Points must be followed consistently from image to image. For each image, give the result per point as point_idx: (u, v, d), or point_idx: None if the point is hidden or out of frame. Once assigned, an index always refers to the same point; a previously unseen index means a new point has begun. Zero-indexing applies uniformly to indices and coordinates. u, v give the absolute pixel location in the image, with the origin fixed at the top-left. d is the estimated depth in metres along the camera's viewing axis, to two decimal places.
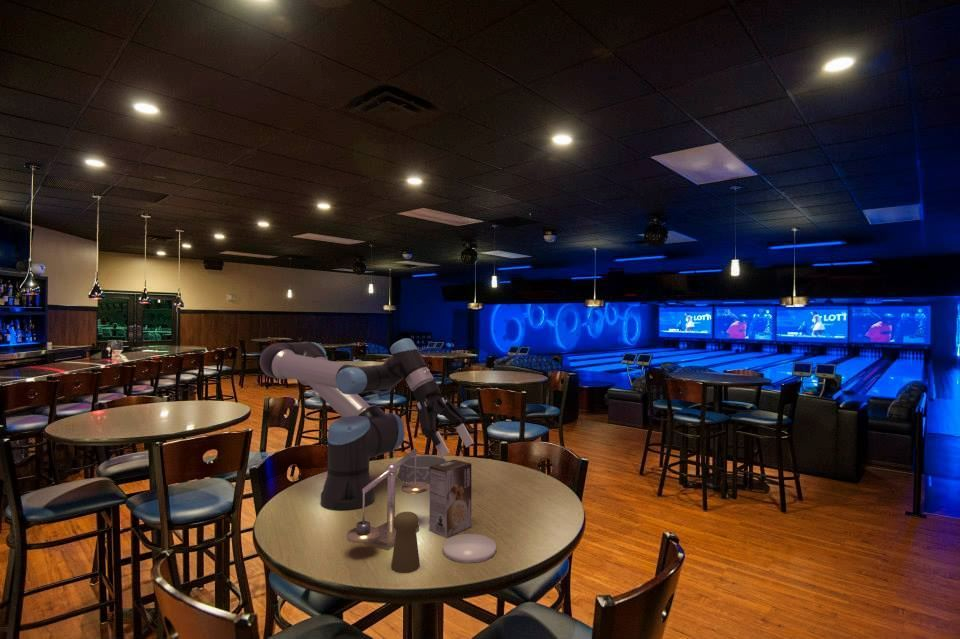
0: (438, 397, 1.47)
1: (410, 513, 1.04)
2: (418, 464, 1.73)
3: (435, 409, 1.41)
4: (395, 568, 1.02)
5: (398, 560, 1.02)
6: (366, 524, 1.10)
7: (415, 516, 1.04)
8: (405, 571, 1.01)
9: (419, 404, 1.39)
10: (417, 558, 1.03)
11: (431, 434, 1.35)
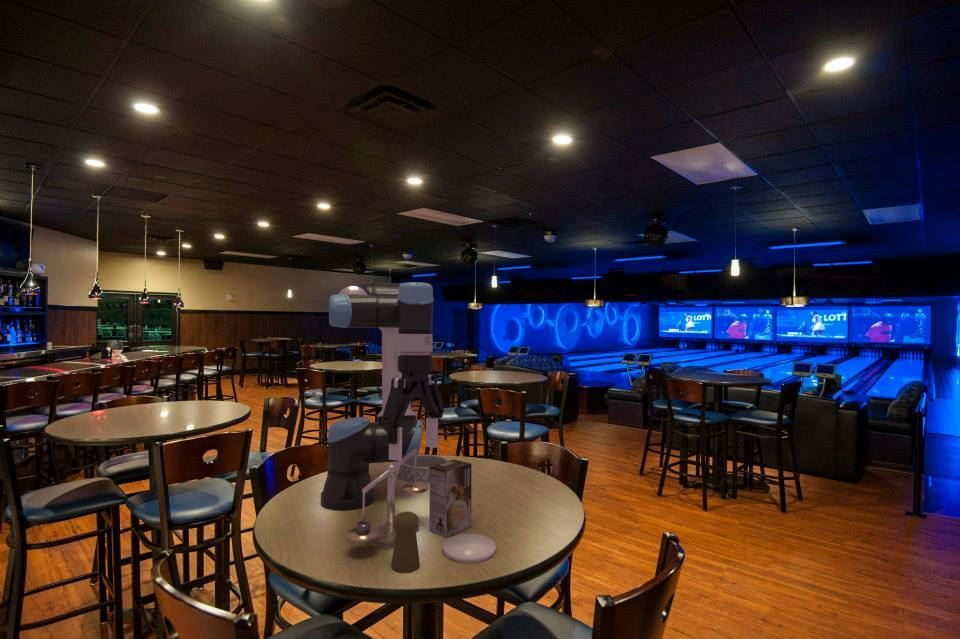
0: (425, 376, 1.09)
1: (410, 513, 1.04)
2: (418, 464, 1.74)
3: (413, 395, 1.03)
4: (395, 568, 1.02)
5: (398, 560, 1.02)
6: (366, 524, 1.10)
7: (415, 516, 1.04)
8: (405, 571, 1.01)
9: (397, 382, 1.01)
10: (417, 558, 1.03)
11: (391, 428, 0.99)
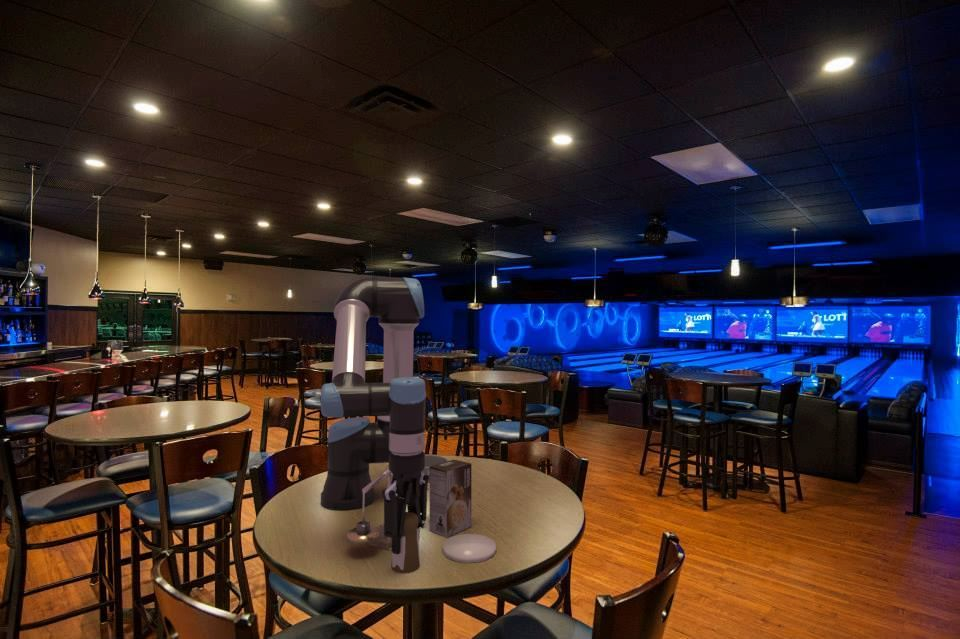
0: None
1: (410, 513, 1.04)
2: None
3: (407, 499, 1.02)
4: (395, 569, 1.02)
5: None
6: (366, 524, 1.10)
7: (415, 516, 1.04)
8: (405, 571, 1.01)
9: (388, 495, 0.98)
10: (417, 558, 1.03)
11: (394, 539, 1.00)
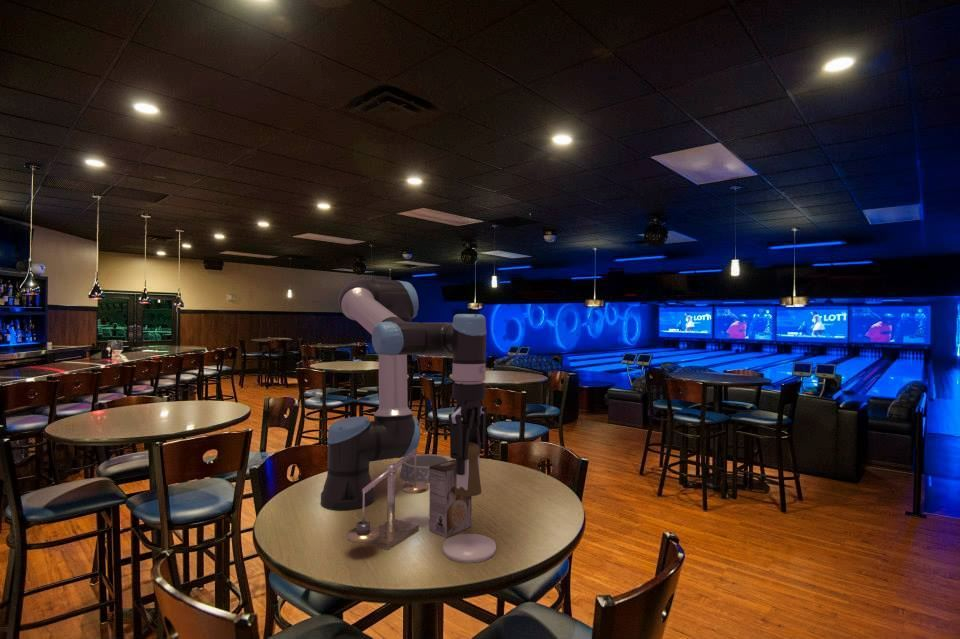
0: (479, 401, 1.14)
1: (472, 443, 1.12)
2: (420, 463, 1.74)
3: (471, 424, 1.09)
4: (459, 492, 1.09)
5: None
6: (366, 524, 1.10)
7: (477, 445, 1.11)
8: (469, 494, 1.09)
9: (454, 419, 1.06)
10: (479, 484, 1.11)
11: (459, 461, 1.08)
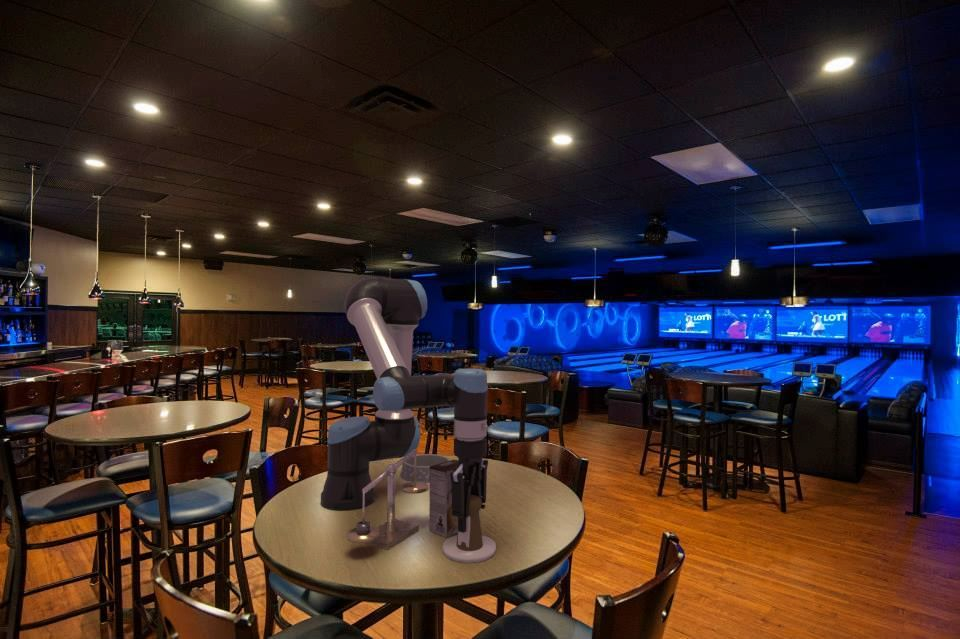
0: None
1: (473, 496, 1.12)
2: (420, 463, 1.75)
3: (472, 481, 1.09)
4: (460, 547, 1.09)
5: None
6: (366, 524, 1.10)
7: (478, 498, 1.11)
8: (470, 549, 1.09)
9: (456, 477, 1.06)
10: (481, 537, 1.11)
11: (461, 518, 1.08)
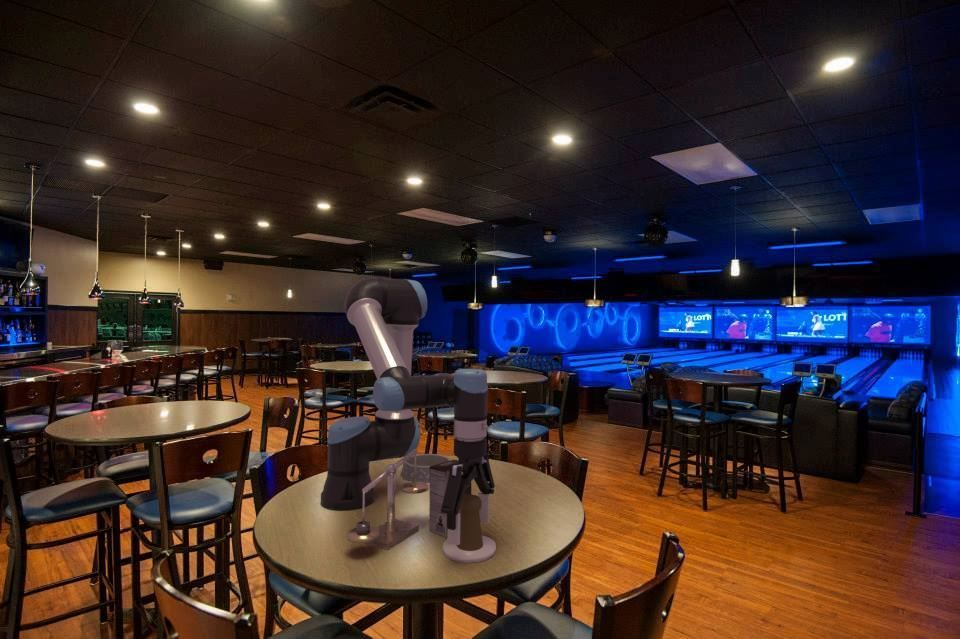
0: (479, 457, 1.14)
1: (474, 496, 1.12)
2: (421, 463, 1.75)
3: (469, 480, 1.08)
4: (460, 546, 1.09)
5: (463, 539, 1.09)
6: (366, 524, 1.10)
7: (479, 498, 1.11)
8: (470, 549, 1.09)
9: (455, 469, 1.06)
10: (481, 537, 1.11)
11: (450, 515, 1.04)
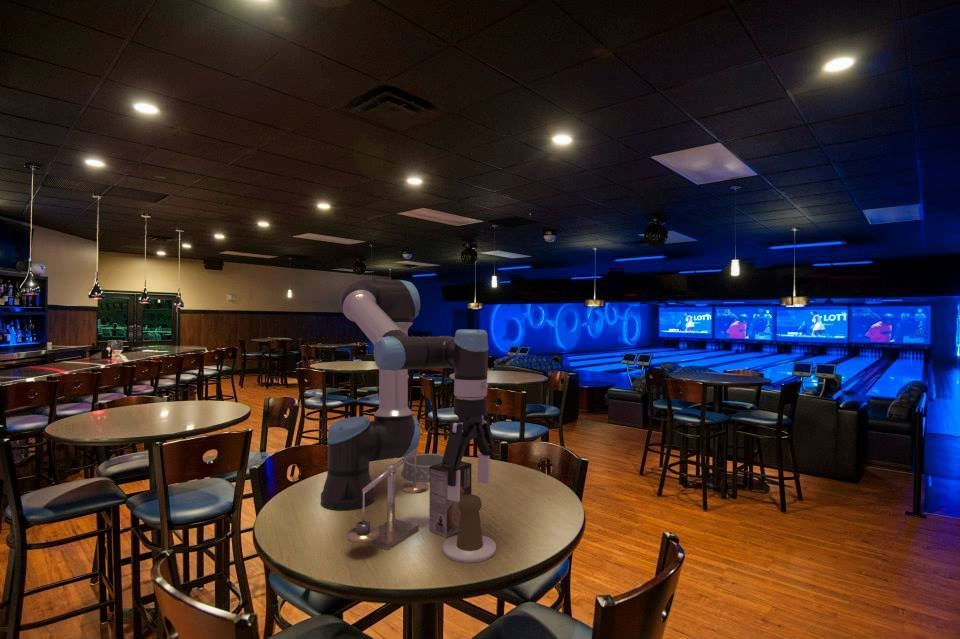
0: (479, 417, 1.14)
1: (474, 496, 1.12)
2: (421, 463, 1.75)
3: (470, 438, 1.09)
4: (460, 547, 1.09)
5: (463, 539, 1.09)
6: (366, 524, 1.10)
7: (478, 498, 1.11)
8: (470, 549, 1.09)
9: (455, 427, 1.06)
10: (481, 537, 1.11)
11: (450, 471, 1.05)
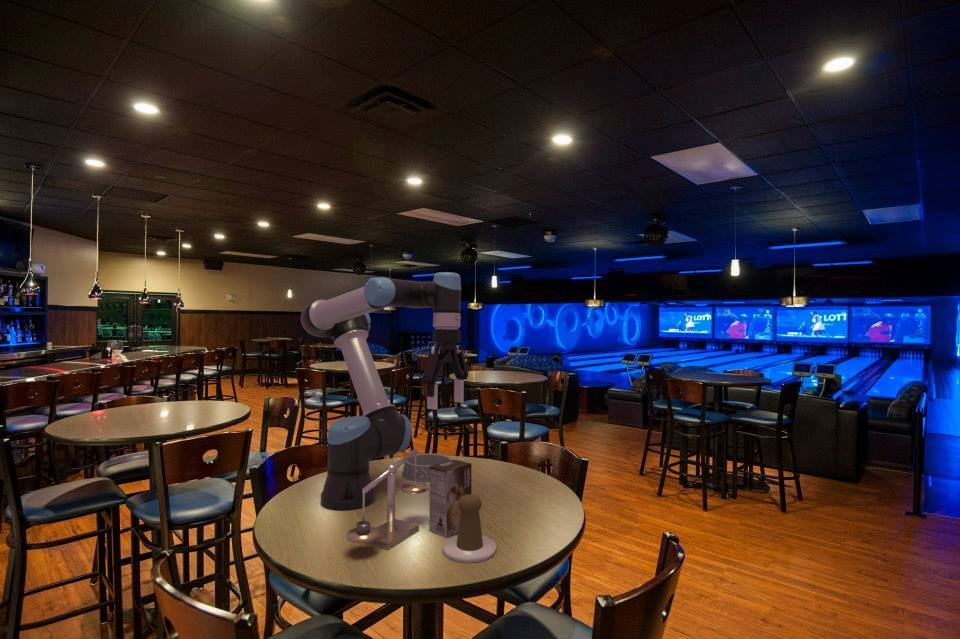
0: (454, 346, 1.38)
1: (473, 496, 1.12)
2: (422, 463, 1.75)
3: (445, 360, 1.33)
4: (460, 547, 1.09)
5: (463, 539, 1.09)
6: (366, 524, 1.10)
7: (478, 498, 1.11)
8: (470, 549, 1.09)
9: (433, 349, 1.31)
10: (481, 537, 1.11)
11: (429, 384, 1.29)
